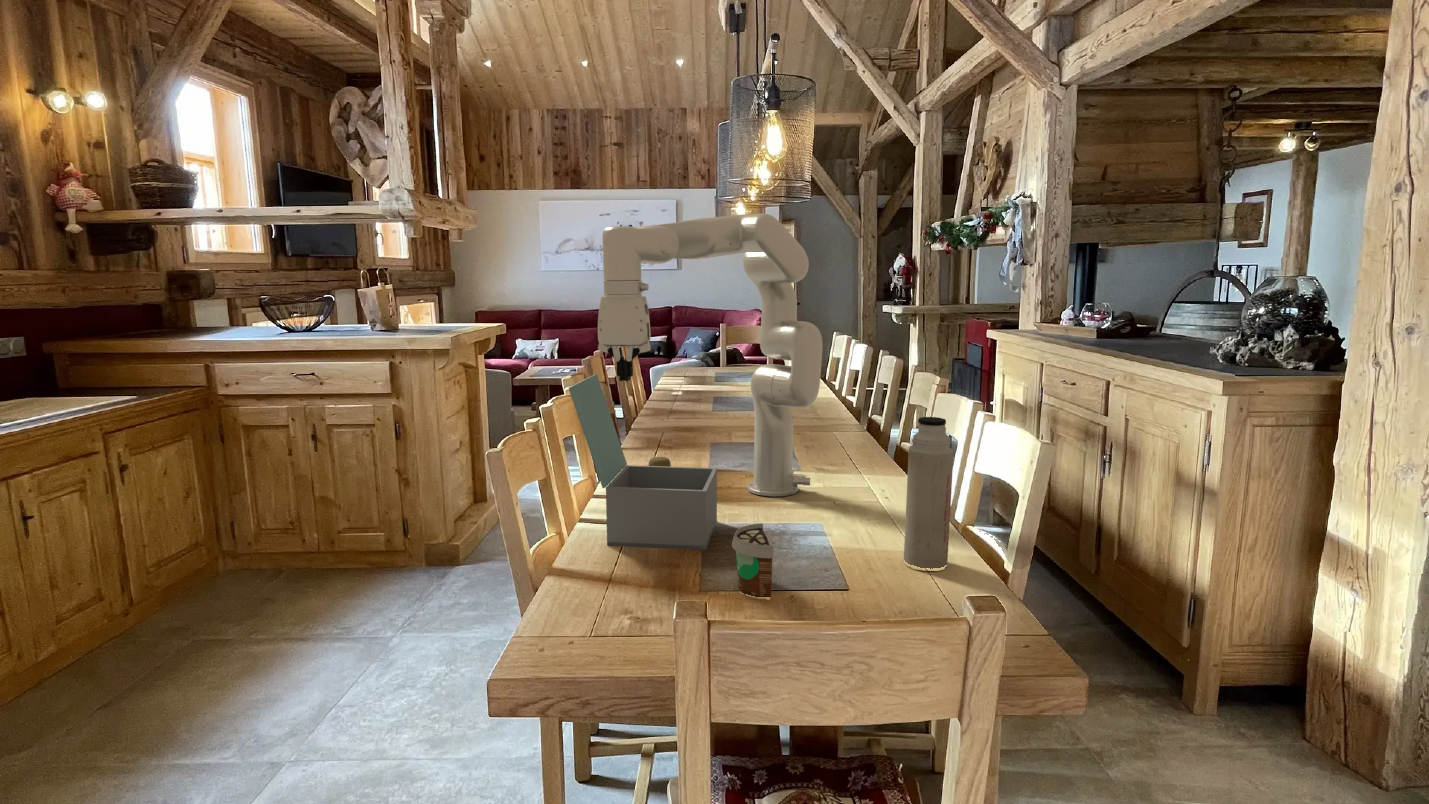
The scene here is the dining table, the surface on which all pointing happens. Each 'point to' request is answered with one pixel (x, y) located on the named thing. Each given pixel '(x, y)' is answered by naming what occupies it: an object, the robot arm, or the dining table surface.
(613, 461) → the lid
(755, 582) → the food container
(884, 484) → the dining table surface
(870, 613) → the dining table surface
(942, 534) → the thermos bottle
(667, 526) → the carton
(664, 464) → the cork
